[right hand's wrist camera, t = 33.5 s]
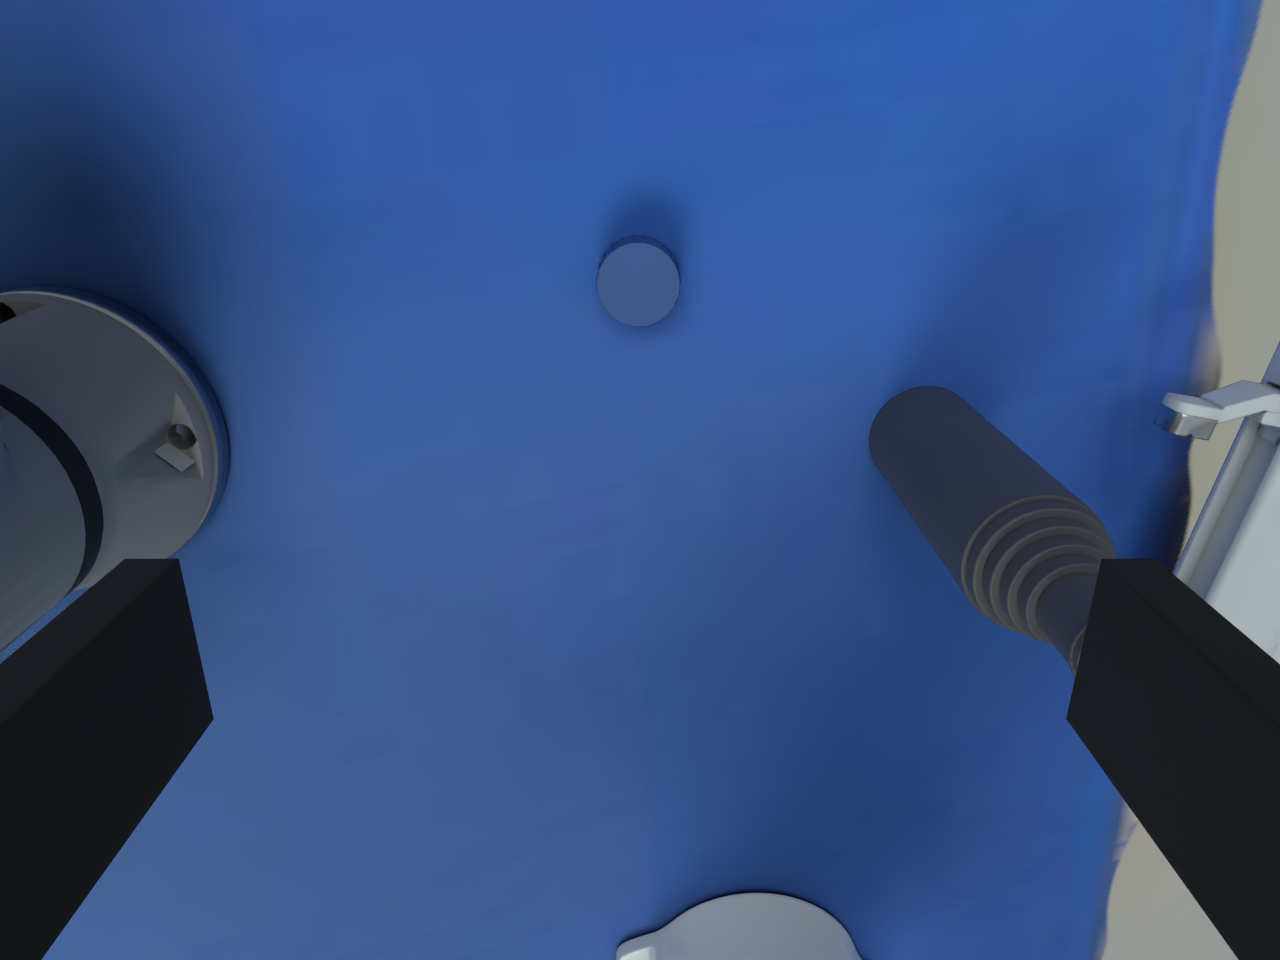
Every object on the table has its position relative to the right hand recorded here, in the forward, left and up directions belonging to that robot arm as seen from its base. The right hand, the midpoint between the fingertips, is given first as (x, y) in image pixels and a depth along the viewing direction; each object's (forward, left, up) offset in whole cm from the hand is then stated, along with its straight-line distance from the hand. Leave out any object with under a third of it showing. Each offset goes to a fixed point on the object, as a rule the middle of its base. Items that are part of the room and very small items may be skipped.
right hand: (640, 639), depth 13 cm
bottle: (+3, -17, -33) cm, 37 cm away
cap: (0, 0, -33) cm, 33 cm away
